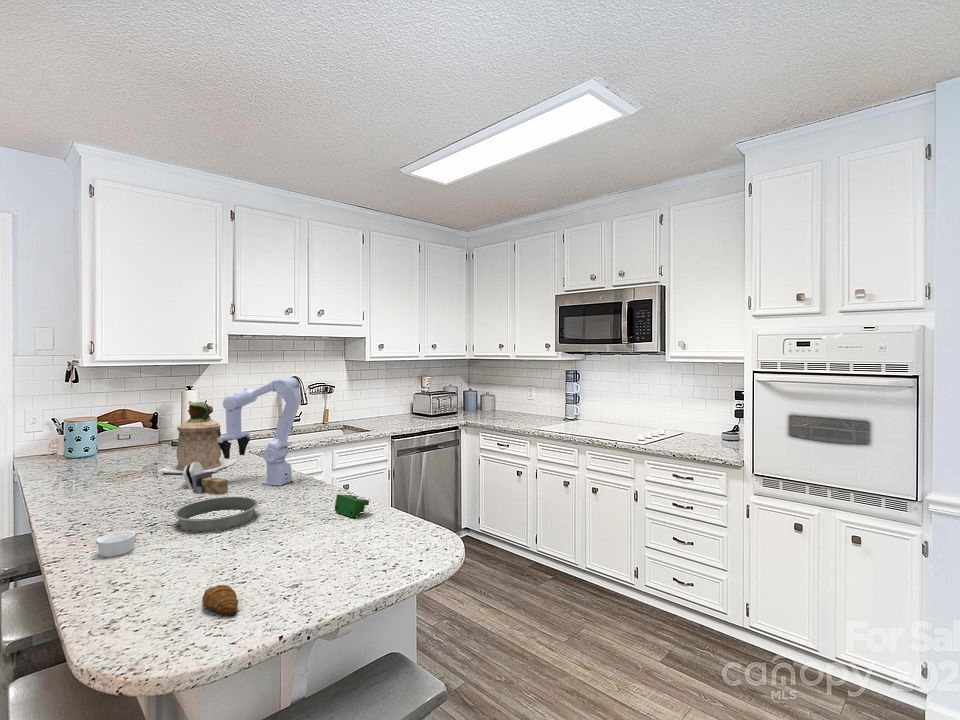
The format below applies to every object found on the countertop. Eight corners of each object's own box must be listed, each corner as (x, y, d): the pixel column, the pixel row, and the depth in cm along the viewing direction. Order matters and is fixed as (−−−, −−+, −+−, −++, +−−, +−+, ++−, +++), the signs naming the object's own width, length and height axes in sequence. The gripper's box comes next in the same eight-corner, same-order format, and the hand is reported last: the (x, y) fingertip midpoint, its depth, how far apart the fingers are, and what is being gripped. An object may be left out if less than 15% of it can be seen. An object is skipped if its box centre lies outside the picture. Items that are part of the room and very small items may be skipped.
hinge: (202, 488, 211) (192, 465, 210) (190, 493, 210) (180, 470, 209) (210, 478, 227) (201, 457, 226) (199, 482, 226) (189, 461, 225)
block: (227, 492, 205) (227, 479, 205) (219, 494, 201) (219, 481, 201) (209, 489, 209) (209, 476, 209) (201, 492, 206) (201, 479, 205)
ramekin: (106, 560, 140) (105, 544, 140) (91, 554, 144) (90, 538, 144) (142, 549, 147) (141, 534, 147) (126, 543, 152) (126, 528, 152)
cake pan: (155, 528, 165) (155, 514, 165) (219, 506, 188) (219, 493, 188) (215, 538, 156) (215, 523, 156) (274, 513, 179) (274, 500, 179)
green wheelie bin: (362, 527, 177) (373, 504, 175) (347, 527, 172) (358, 503, 171) (346, 506, 185) (356, 484, 184) (331, 506, 180) (342, 483, 179)
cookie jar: (212, 474, 233) (210, 403, 233) (157, 475, 234) (155, 403, 233) (238, 462, 258) (236, 397, 257) (188, 462, 258) (186, 398, 258)
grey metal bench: (217, 489, 209) (217, 472, 209) (201, 493, 203) (201, 476, 203) (208, 487, 211) (208, 471, 211) (192, 492, 205) (192, 475, 205)
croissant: (191, 603, 116) (190, 581, 116) (223, 592, 122) (222, 571, 121) (216, 624, 107) (215, 600, 107) (249, 611, 112) (248, 588, 112)
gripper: (241, 421, 229) (241, 452, 229) (212, 426, 216) (212, 459, 216) (253, 422, 226) (253, 454, 226) (224, 427, 213) (225, 460, 213)
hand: (234, 456), depth 221 cm, fingers open, 7 cm apart
